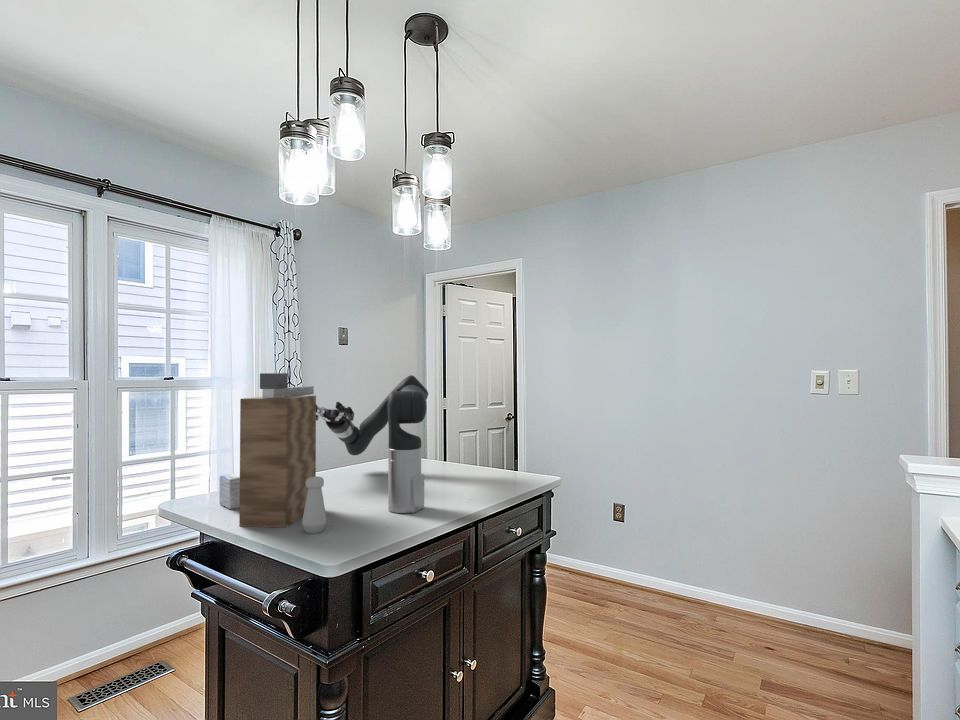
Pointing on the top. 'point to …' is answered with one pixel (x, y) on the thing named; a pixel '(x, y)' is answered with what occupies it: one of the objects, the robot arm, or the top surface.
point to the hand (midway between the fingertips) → (324, 404)
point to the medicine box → (230, 491)
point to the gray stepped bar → (281, 386)
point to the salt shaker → (314, 506)
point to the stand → (276, 458)
